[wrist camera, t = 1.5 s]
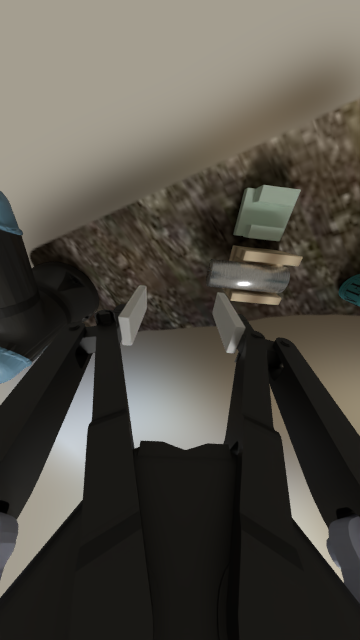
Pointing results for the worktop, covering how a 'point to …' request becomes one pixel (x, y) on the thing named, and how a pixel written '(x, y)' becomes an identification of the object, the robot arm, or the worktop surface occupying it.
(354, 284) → the beverage bottle
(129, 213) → the worktop surface
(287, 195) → the v block
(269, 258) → the wooden bracket
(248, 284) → the axle
